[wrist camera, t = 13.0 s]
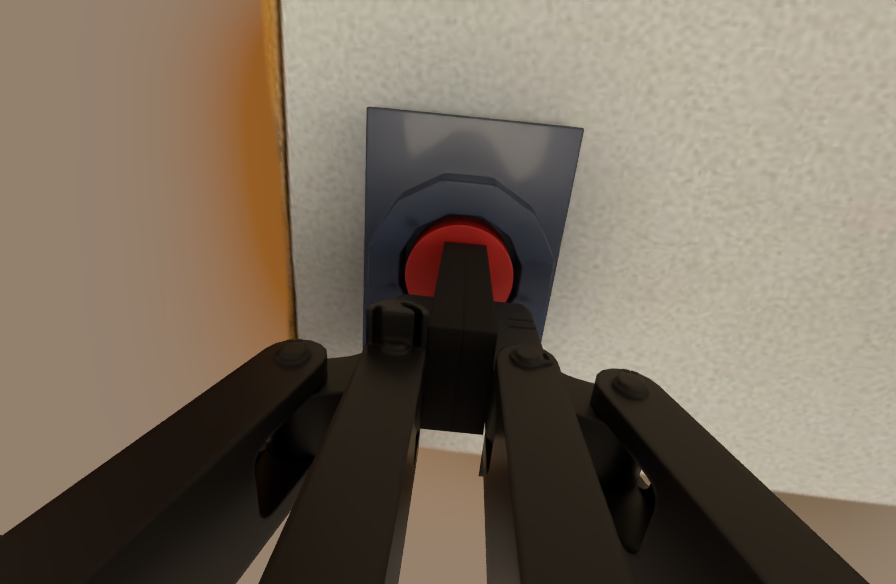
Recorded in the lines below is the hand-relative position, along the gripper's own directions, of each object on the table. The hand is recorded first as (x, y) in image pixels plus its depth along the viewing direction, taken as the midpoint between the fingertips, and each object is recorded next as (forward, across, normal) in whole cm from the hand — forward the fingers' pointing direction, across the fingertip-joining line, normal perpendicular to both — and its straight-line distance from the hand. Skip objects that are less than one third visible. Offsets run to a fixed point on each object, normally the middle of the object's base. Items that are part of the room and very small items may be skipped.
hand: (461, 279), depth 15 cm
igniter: (+5, 0, 0) cm, 5 cm away
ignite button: (+2, 0, 0) cm, 2 cm away
